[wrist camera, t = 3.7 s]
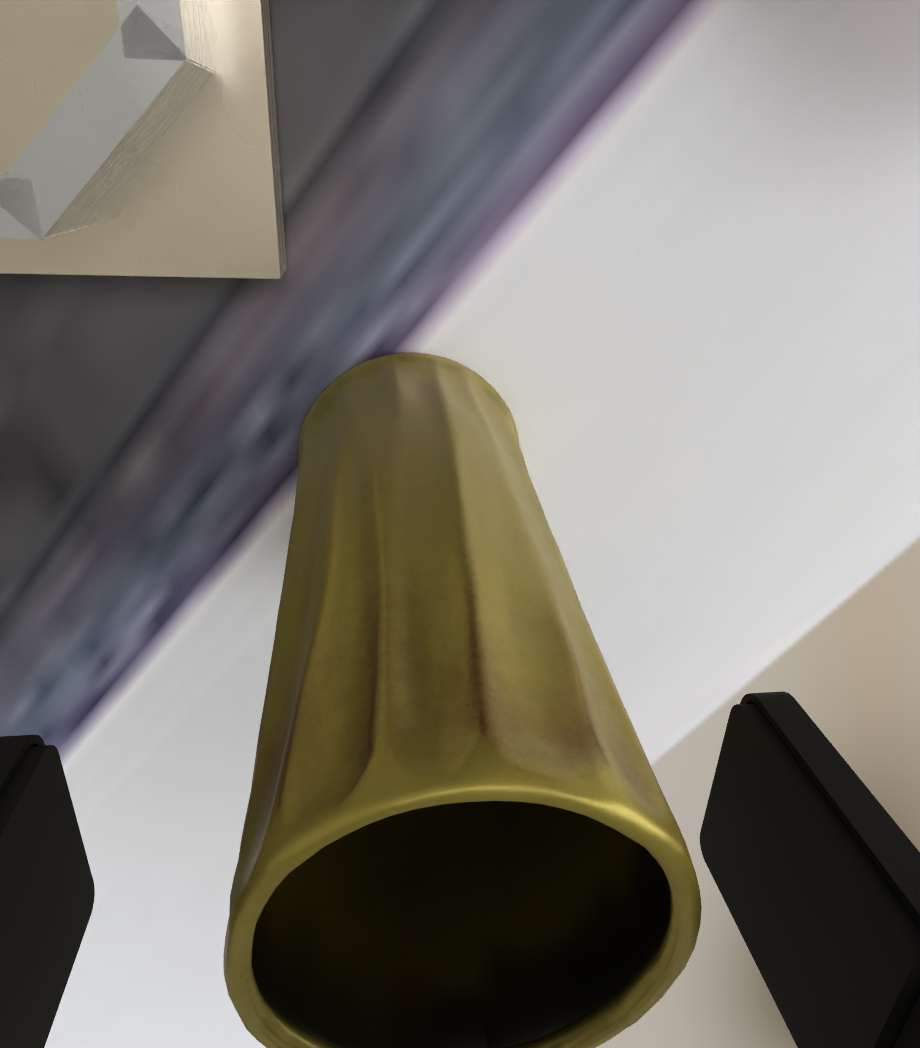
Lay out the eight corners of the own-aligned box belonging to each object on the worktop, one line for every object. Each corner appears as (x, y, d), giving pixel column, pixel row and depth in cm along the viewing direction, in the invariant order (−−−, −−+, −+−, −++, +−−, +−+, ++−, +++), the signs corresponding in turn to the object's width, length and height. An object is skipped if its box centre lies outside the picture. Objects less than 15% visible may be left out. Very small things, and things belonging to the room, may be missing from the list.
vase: (323, 570, 22) (255, 1153, 9) (274, 368, 19) (76, 812, 6) (526, 538, 22) (733, 1065, 9) (507, 333, 19) (768, 696, 7)
